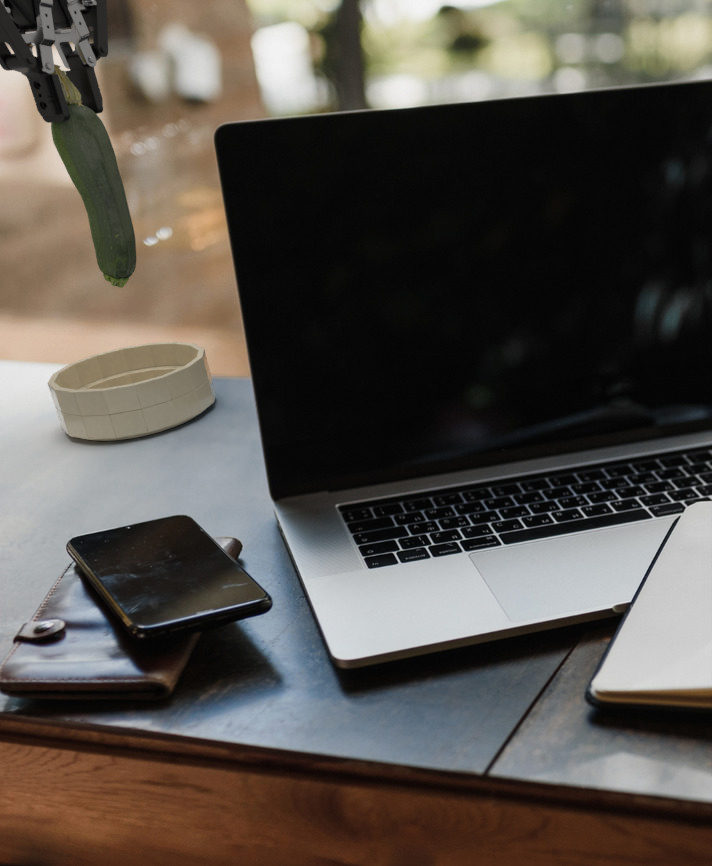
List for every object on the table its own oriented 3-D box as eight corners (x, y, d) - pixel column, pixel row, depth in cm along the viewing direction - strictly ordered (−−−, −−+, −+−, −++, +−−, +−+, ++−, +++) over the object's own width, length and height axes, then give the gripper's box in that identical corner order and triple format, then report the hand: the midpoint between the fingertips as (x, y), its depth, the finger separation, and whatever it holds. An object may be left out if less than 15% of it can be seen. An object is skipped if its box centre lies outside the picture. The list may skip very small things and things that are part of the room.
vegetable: (157, 278, 101) (93, 53, 93) (144, 290, 97) (76, 56, 89) (108, 284, 100) (39, 58, 92) (93, 297, 96) (20, 62, 88)
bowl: (53, 456, 101) (35, 401, 99) (78, 406, 113) (63, 357, 111) (212, 427, 104) (198, 373, 102) (220, 381, 117) (207, 333, 115)
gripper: (34, -98, 93) (94, 108, 100) (-106, -103, 80) (-26, 134, 87) (108, -108, 91) (164, 103, 98) (-24, -115, 78) (51, 128, 85)
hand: (74, 116), depth 92 cm, fingers closed on vegetable, 3 cm apart
